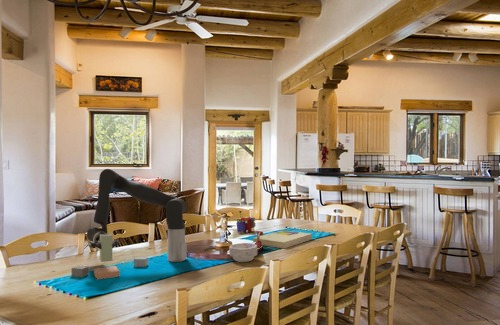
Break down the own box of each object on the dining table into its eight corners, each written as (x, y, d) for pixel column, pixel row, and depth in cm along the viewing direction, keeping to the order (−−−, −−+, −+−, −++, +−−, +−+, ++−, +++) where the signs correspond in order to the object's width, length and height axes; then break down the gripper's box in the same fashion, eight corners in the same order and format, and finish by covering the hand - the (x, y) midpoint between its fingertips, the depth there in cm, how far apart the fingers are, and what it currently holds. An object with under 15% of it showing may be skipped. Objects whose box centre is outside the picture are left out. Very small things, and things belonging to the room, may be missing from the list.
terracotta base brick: (115, 272, 202) (115, 266, 202) (119, 277, 193) (119, 270, 193) (93, 275, 197) (93, 268, 197) (97, 280, 188) (96, 273, 188)
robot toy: (233, 234, 306) (251, 228, 320) (241, 235, 300) (260, 229, 314) (231, 211, 305) (249, 206, 319) (240, 212, 298) (258, 207, 313)
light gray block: (147, 265, 214) (147, 257, 214) (145, 267, 210) (145, 259, 210) (136, 264, 214) (136, 257, 214) (133, 266, 210) (133, 259, 210)
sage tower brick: (110, 258, 198) (110, 233, 198) (112, 260, 194) (112, 235, 194) (99, 259, 196) (99, 234, 196) (101, 261, 191) (101, 236, 191)
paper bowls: (223, 261, 221) (223, 246, 221) (239, 255, 233) (239, 241, 233) (247, 265, 212) (247, 249, 212) (262, 259, 225) (262, 244, 225)
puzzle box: (252, 244, 266) (283, 249, 251) (252, 237, 266) (283, 241, 251) (283, 236, 294) (312, 240, 280) (283, 230, 294) (312, 233, 280)
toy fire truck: (253, 251, 245) (253, 234, 245) (258, 246, 259) (258, 230, 259) (259, 251, 245) (259, 235, 244) (263, 246, 258) (263, 231, 258)
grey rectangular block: (87, 275, 196) (87, 266, 196) (82, 277, 192) (82, 268, 192) (77, 274, 197) (77, 265, 197) (71, 276, 193) (71, 267, 193)
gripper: (86, 233, 204) (90, 239, 189) (116, 231, 211) (122, 237, 196) (86, 248, 204) (90, 256, 189) (116, 246, 211) (122, 252, 196)
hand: (106, 246), depth 192 cm, fingers closed on sage tower brick, 5 cm apart
